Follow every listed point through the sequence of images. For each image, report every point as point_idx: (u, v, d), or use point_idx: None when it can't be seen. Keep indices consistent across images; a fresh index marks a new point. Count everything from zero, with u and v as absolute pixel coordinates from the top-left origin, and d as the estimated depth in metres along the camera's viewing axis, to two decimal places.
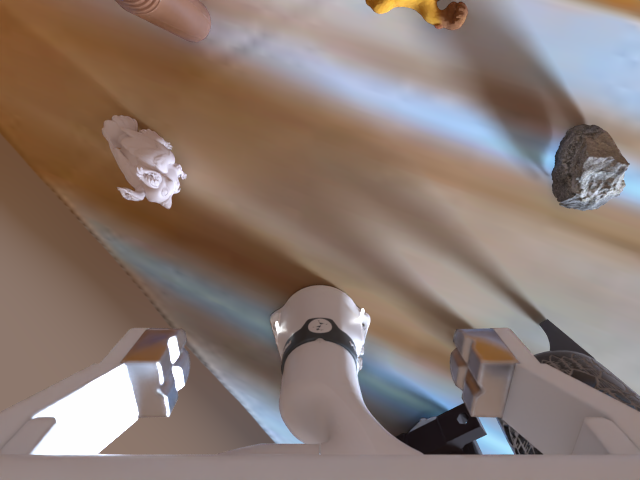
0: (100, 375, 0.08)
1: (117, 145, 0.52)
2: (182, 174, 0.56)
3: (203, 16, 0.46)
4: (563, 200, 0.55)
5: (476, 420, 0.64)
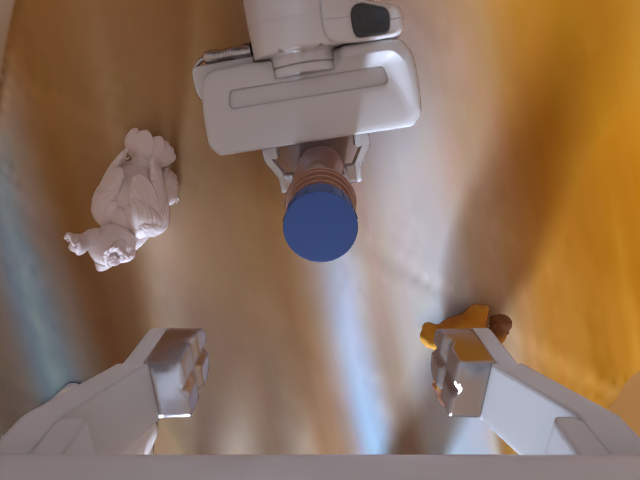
0: (125, 375, 0.08)
1: (128, 153, 0.37)
2: None
3: None
4: None
5: None
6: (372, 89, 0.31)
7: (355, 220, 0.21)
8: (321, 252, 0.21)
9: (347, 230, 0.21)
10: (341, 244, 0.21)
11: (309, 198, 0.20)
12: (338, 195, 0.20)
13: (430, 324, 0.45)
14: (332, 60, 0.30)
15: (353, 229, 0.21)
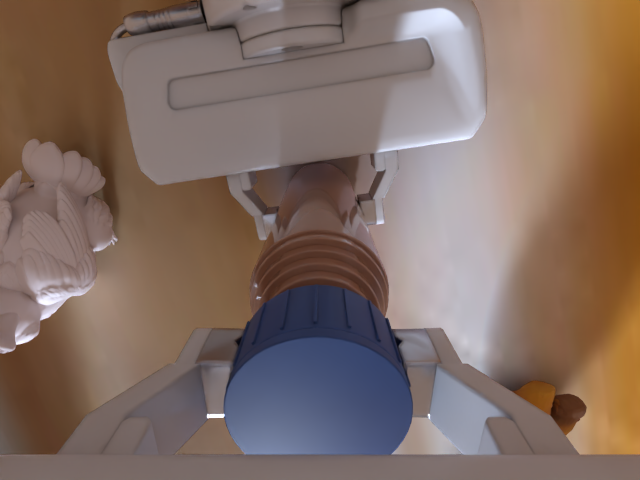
0: (179, 375, 0.08)
1: (30, 176, 0.25)
2: None
3: None
4: None
5: None
6: (407, 77, 0.18)
7: (408, 399, 0.08)
8: None
9: (386, 420, 0.08)
10: (370, 447, 0.09)
11: (288, 351, 0.08)
12: (365, 341, 0.08)
13: None
14: (340, 27, 0.18)
15: (401, 418, 0.08)
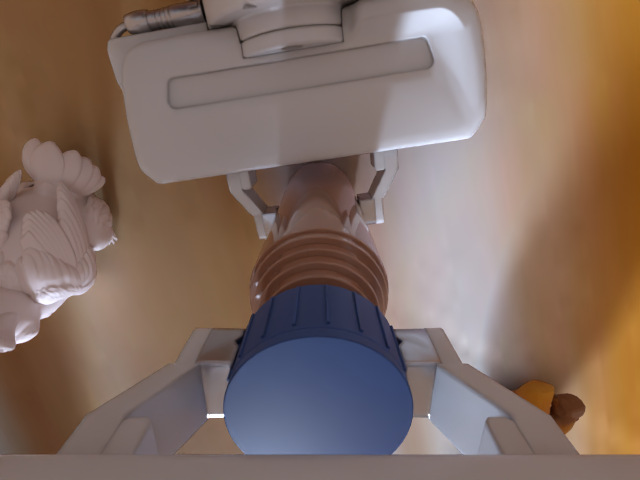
0: (179, 375, 0.08)
1: (30, 175, 0.25)
2: None
3: None
4: None
5: None
6: (407, 76, 0.18)
7: (325, 339, 0.07)
8: (381, 428, 0.08)
9: (346, 364, 0.08)
10: (379, 384, 0.08)
11: (236, 417, 0.08)
12: (249, 354, 0.08)
13: None
14: (340, 26, 0.18)
15: (348, 350, 0.08)
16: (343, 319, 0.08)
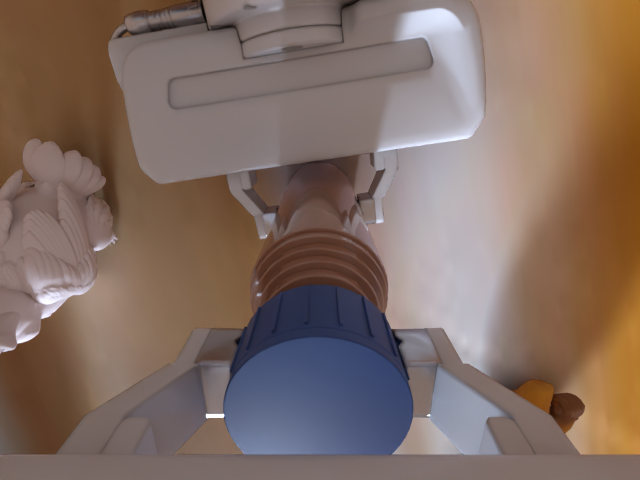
0: (179, 375, 0.08)
1: None
2: None
3: None
4: None
5: None
6: (406, 77, 0.19)
7: (231, 388, 0.08)
8: (356, 370, 0.08)
9: (262, 380, 0.08)
10: (297, 360, 0.08)
11: None
12: None
13: None
14: (340, 27, 0.18)
15: (247, 375, 0.08)
16: (240, 353, 0.08)
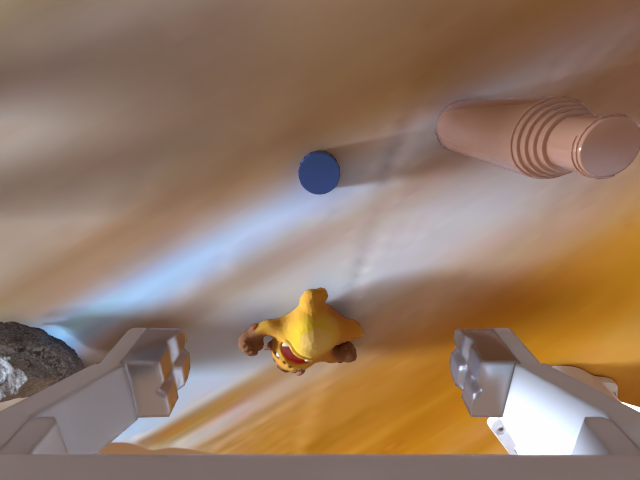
0: (100, 375, 0.08)
1: None
2: None
3: (451, 147, 0.36)
4: None
5: None
6: None
7: (338, 168, 0.38)
8: (320, 188, 0.38)
9: (334, 174, 0.38)
10: (331, 183, 0.38)
11: (312, 157, 0.37)
12: (327, 155, 0.37)
13: (327, 294, 0.43)
14: None
15: (337, 173, 0.38)
16: None
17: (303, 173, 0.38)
